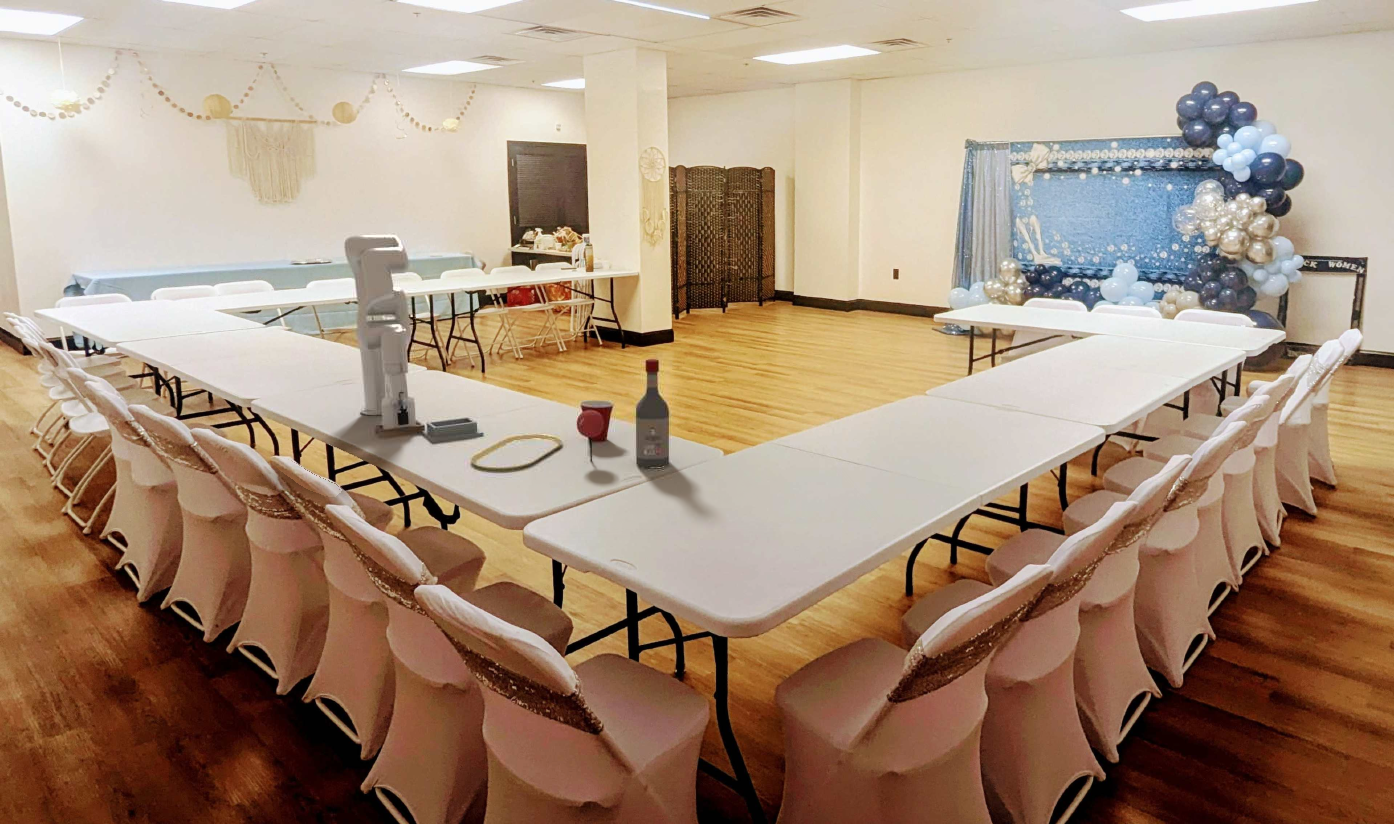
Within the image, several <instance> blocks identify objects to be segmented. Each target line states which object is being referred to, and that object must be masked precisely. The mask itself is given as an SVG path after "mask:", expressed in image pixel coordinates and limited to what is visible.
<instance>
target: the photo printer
mask: <svg viewBox="0 0 1394 824" xmlns="http://www.w3.org/2000/svg"><path fill="white" fill-rule="evenodd" d="M407 407H408V417H409V424H406V425H398V416H397V413H398V409H397V405H395V406H392V405H391V403H390V399H389V397H386V398H384V399H382V415H381V417H382V424H383V430H385V429H393V428H401V427H408V426H416V420H417V418H416V403H415V399H414V396H412V395H409V394H408V404H407ZM400 408H401V406H400Z"/></svg>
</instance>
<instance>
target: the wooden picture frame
mask: <svg viewBox="0 0 1394 824" xmlns="http://www.w3.org/2000/svg"><path fill="white" fill-rule="evenodd" d="M423 430H426V427H425V423H422V421H420V420H419V419H416V426H408V427H401V428H393V429H385V430H383V423H382V424H375V425H374V433H375V434H376V435H377V437H379V438H380V439H387V438H394V437H401V436H402V437H403V436H411V435H417V434H422V431H423Z"/></svg>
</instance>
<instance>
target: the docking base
mask: <svg viewBox="0 0 1394 824" xmlns="http://www.w3.org/2000/svg"><path fill="white" fill-rule="evenodd" d="M421 435H422V436H424V437H425V438H426V439H428V440H429V441H430V442H432V443H434V444H435V443H439V442H441V443H442V442H448V441H456V440H461V439H463V440H464V439H469V438H470V439H471V438H475V437H483V436H484V432H483V431H482V430H480V429H479V428H478V422H477V421H475V420H474V419H473V418H471V417H469V416H468V417H460V418H459V417H458V418H452V419H444V420H436V421H435V420H434V421H429V422H426V429H425V430H423V431H422V433H421Z"/></svg>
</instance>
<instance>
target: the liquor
mask: <svg viewBox="0 0 1394 824" xmlns="http://www.w3.org/2000/svg"><path fill="white" fill-rule="evenodd" d="M659 371H660V361H659V359H656V358H651V359H650V358H648V359H645V372H646V390H645V394H644V395H643V396H642V398H640V399H639V401H638V402H637V404H636V407H635V444H636V445H635V452H636V455H635V457H636V458H635V459H636V461H635V463H636V466H637V467H638V466H640V467H639V468H641V467H644V468H643V469H652V468H651V467H663V466H666V465H668V466H669V463H670V410H669V406H668V403H667V401H666V400H664V398H663V397H662V395H660V394H659V393H660V392H659V389H658V388H659V387H658V385H659V381H658V380H659V378H658V377H659V376H658V372H659ZM666 467H667V466H666ZM663 468H664V467H663Z"/></svg>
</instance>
